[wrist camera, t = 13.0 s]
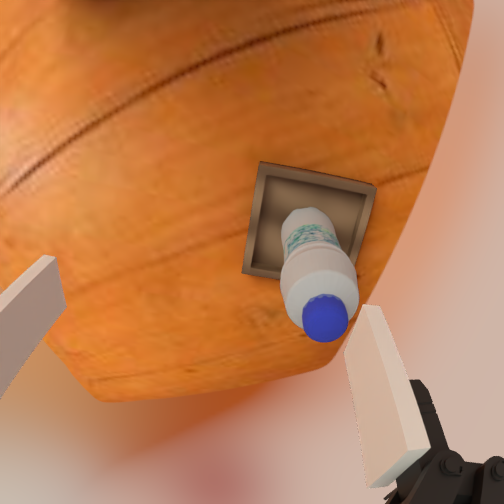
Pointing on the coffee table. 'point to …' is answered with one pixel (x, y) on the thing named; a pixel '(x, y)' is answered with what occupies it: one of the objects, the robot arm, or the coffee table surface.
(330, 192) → the tray
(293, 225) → the bottle
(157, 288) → the coffee table surface
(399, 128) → the coffee table surface
